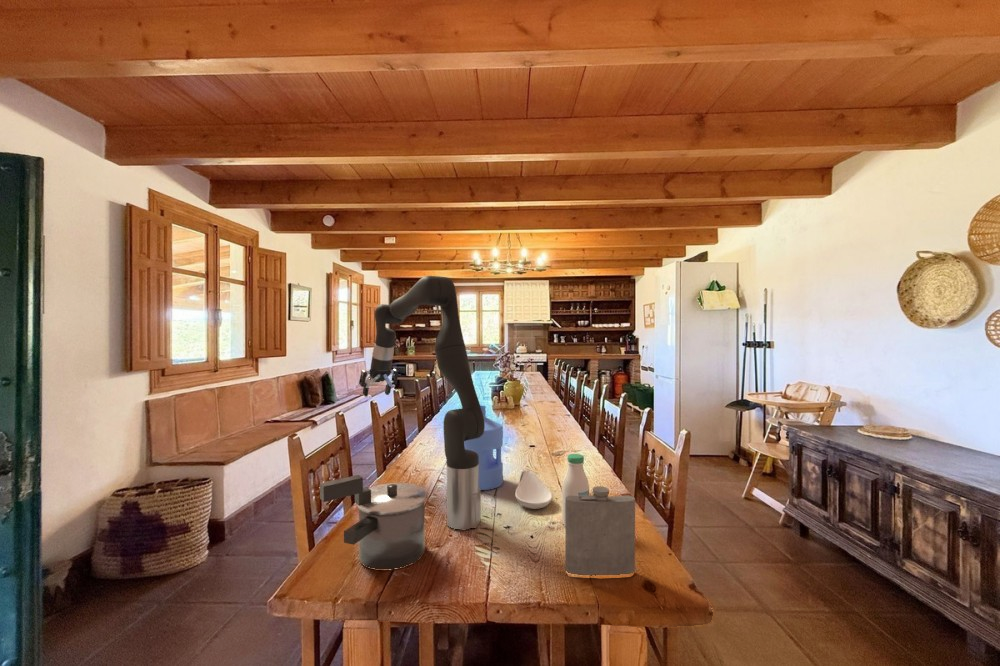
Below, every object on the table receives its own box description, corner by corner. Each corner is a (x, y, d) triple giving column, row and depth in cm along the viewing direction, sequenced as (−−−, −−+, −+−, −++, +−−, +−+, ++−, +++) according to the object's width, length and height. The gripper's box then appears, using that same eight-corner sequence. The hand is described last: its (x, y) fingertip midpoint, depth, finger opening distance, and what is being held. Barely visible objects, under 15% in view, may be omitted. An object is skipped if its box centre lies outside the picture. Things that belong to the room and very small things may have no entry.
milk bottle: (568, 532, 119) (568, 460, 119) (557, 520, 127) (557, 452, 126) (594, 529, 121) (594, 458, 121) (581, 517, 129) (581, 450, 128)
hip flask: (632, 569, 101) (632, 484, 101) (638, 579, 97) (638, 491, 97) (564, 569, 101) (564, 484, 101) (567, 579, 97) (567, 491, 97)
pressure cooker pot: (385, 533, 119) (384, 486, 119) (436, 543, 114) (436, 494, 113) (320, 581, 97) (319, 523, 97) (380, 597, 91) (379, 536, 91)
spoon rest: (556, 513, 132) (556, 489, 132) (518, 514, 131) (518, 491, 131) (540, 484, 156) (540, 465, 156) (508, 486, 155) (508, 466, 155)
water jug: (453, 489, 151) (453, 409, 151) (467, 474, 166) (467, 401, 166) (497, 493, 147) (497, 411, 147) (507, 477, 163) (507, 403, 162)
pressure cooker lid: (406, 483, 120) (406, 455, 120) (438, 502, 107) (437, 470, 107) (311, 507, 104) (311, 475, 104) (334, 533, 91) (334, 496, 91)
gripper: (368, 360, 156) (361, 400, 160) (404, 359, 165) (397, 397, 169) (360, 352, 161) (354, 392, 165) (396, 352, 170) (389, 389, 174)
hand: (376, 395), depth 167 cm, fingers open, 8 cm apart
